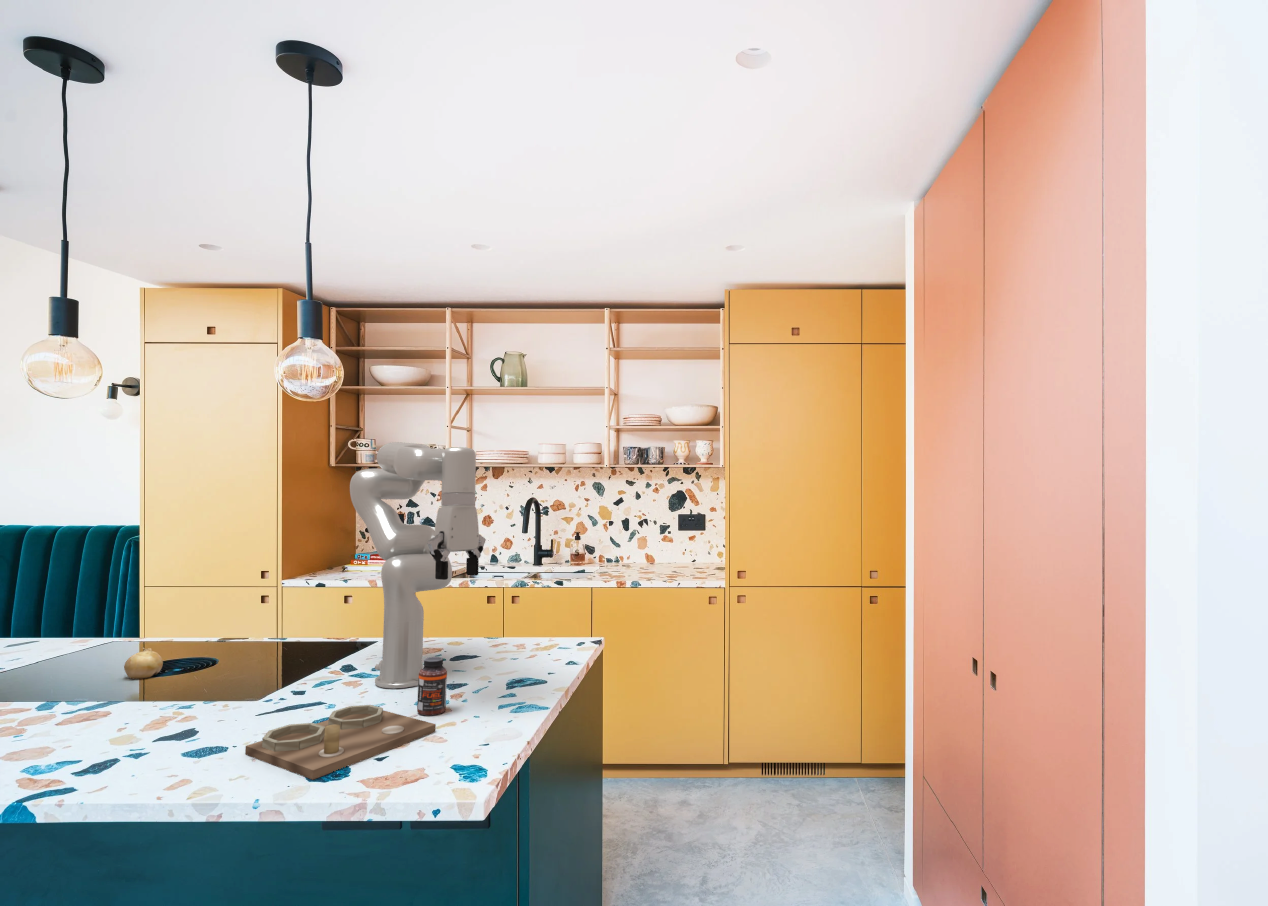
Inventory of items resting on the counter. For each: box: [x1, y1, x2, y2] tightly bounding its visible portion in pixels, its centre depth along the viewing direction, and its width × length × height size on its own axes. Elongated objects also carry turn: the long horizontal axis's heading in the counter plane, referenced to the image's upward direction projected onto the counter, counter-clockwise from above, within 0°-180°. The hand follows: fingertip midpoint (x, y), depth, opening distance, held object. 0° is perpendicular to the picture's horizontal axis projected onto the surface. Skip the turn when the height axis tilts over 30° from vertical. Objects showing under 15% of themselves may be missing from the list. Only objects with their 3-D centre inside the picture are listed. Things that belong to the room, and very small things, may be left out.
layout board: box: [244, 704, 437, 780], centre depth 123 cm, size 20×26×6 cm
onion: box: [123, 647, 164, 680], centre depth 166 cm, size 8×8×7 cm
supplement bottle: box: [416, 656, 448, 717], centre depth 141 cm, size 6×6×11 cm
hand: (457, 577), depth 147 cm, fingers open, 9 cm apart
